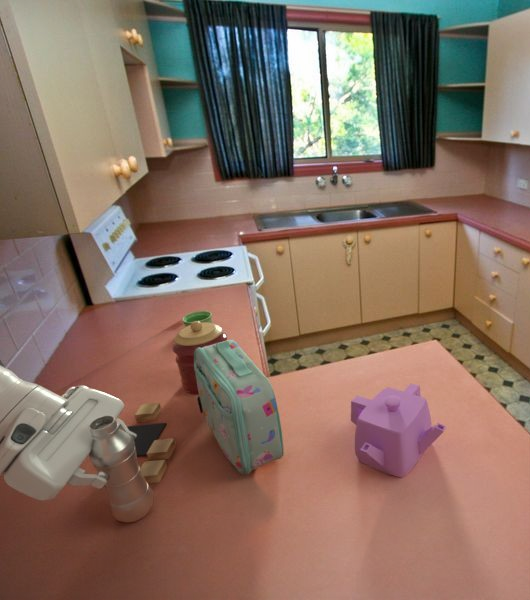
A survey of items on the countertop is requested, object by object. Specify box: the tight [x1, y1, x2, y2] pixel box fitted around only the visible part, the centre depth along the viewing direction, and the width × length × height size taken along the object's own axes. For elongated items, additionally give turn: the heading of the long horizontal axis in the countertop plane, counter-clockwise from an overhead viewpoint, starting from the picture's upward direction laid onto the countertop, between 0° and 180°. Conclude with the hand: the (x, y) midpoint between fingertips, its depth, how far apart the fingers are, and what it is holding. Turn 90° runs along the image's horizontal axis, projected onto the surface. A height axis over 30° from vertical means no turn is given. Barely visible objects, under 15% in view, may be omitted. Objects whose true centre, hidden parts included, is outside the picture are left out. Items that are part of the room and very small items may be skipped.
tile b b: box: [146, 437, 177, 461], centre depth 89 cm, size 4×4×2 cm
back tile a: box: [134, 402, 162, 423], centre depth 100 cm, size 4×4×2 cm
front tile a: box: [140, 459, 168, 484], centre depth 83 cm, size 4×4×2 cm
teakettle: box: [350, 383, 447, 478], centre depth 86 cm, size 17×17×12 cm
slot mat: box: [126, 422, 167, 458], centre depth 93 cm, size 10×10×1 cm
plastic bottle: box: [88, 415, 155, 524], centre depth 72 cm, size 6×7×20 cm
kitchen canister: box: [171, 321, 228, 395], centre depth 110 cm, size 13×13×18 cm
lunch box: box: [194, 339, 284, 475], centre depth 88 cm, size 27×10×21 cm, turn 40°
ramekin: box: [181, 310, 213, 328], centre depth 142 cm, size 9×9×4 cm
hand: (120, 460), depth 71 cm, fingers open, 8 cm apart
